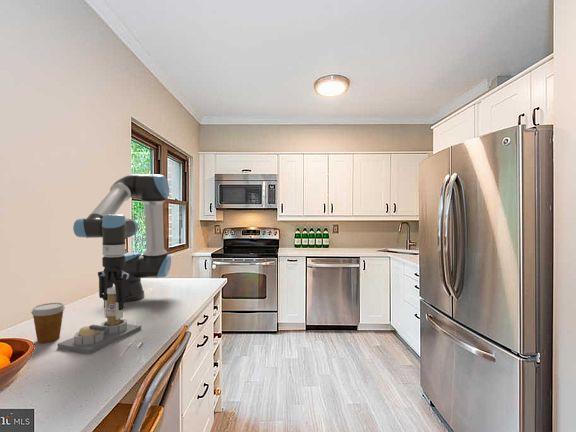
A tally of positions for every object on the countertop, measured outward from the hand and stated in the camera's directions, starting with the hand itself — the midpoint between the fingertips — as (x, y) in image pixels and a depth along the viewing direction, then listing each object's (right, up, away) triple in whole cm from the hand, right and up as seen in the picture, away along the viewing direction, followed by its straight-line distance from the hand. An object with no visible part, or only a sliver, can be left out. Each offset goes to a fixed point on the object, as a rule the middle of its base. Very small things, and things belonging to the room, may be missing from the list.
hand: (114, 317), depth 118 cm
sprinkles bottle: (0, -2, 0) cm, 2 cm away
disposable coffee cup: (-20, -6, -6) cm, 22 cm away
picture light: (+13, -7, -11) cm, 18 cm away
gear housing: (-2, -6, -5) cm, 8 cm away
